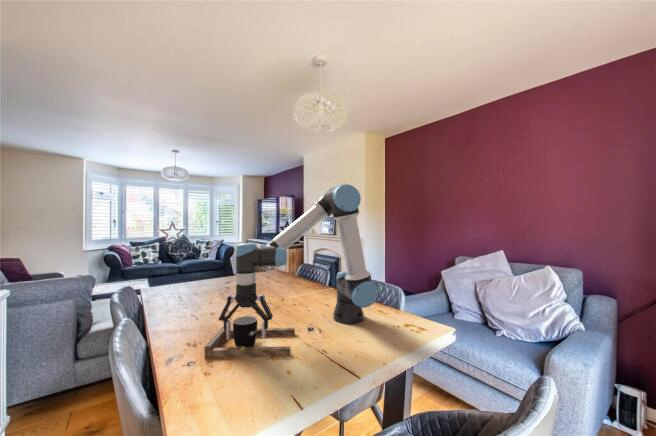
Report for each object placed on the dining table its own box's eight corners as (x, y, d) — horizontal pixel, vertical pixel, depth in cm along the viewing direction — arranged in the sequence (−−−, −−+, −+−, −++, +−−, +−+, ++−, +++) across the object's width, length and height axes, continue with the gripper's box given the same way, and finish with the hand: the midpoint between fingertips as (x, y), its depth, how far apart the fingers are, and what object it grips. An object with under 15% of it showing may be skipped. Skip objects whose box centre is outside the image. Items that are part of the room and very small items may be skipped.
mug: (250, 353, 98) (250, 325, 98) (228, 350, 100) (228, 323, 100) (264, 339, 109) (264, 314, 109) (244, 337, 111) (245, 312, 111)
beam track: (294, 333, 115) (294, 324, 115) (289, 356, 95) (289, 344, 96) (223, 334, 114) (223, 325, 114) (204, 357, 94) (204, 346, 94)
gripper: (279, 280, 109) (279, 333, 109) (217, 281, 108) (217, 334, 108) (276, 285, 101) (276, 341, 101) (209, 285, 100) (209, 342, 100)
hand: (246, 337), depth 104 cm, fingers open, 13 cm apart
